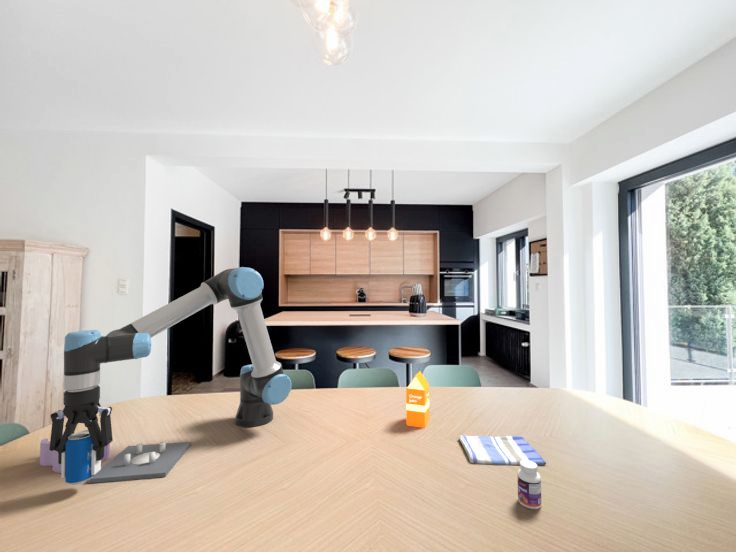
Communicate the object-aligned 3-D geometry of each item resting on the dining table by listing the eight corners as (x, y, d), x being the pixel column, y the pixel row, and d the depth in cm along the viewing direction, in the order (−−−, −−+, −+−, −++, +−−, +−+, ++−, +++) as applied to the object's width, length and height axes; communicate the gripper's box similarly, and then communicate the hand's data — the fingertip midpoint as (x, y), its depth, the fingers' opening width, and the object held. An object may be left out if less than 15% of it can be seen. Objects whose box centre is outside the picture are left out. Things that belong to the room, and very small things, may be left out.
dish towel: (457, 440, 120) (457, 432, 120) (524, 442, 118) (523, 434, 118) (469, 465, 102) (468, 456, 102) (547, 468, 101) (546, 458, 101)
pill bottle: (513, 496, 86) (513, 458, 86) (533, 495, 86) (532, 458, 87) (525, 510, 81) (524, 470, 81) (546, 509, 81) (545, 469, 81)
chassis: (190, 445, 115) (191, 432, 116) (165, 476, 96) (165, 462, 96) (128, 449, 112) (128, 437, 112) (88, 483, 92) (88, 468, 93)
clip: (25, 468, 101) (26, 445, 101) (70, 449, 113) (70, 428, 113) (76, 475, 97) (77, 451, 97) (117, 455, 109) (117, 433, 109)
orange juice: (406, 425, 132) (405, 374, 133) (411, 417, 140) (411, 369, 141) (425, 428, 129) (424, 376, 130) (430, 419, 137) (429, 371, 138)
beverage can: (78, 487, 85) (78, 440, 86) (58, 484, 87) (59, 438, 87) (103, 473, 92) (103, 430, 92) (84, 471, 93) (84, 428, 93)
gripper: (129, 381, 95) (128, 462, 94) (52, 386, 92) (51, 469, 91) (113, 389, 88) (112, 477, 87) (29, 394, 85) (28, 485, 84)
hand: (81, 473), depth 89 cm, fingers closed on beverage can, 6 cm apart
